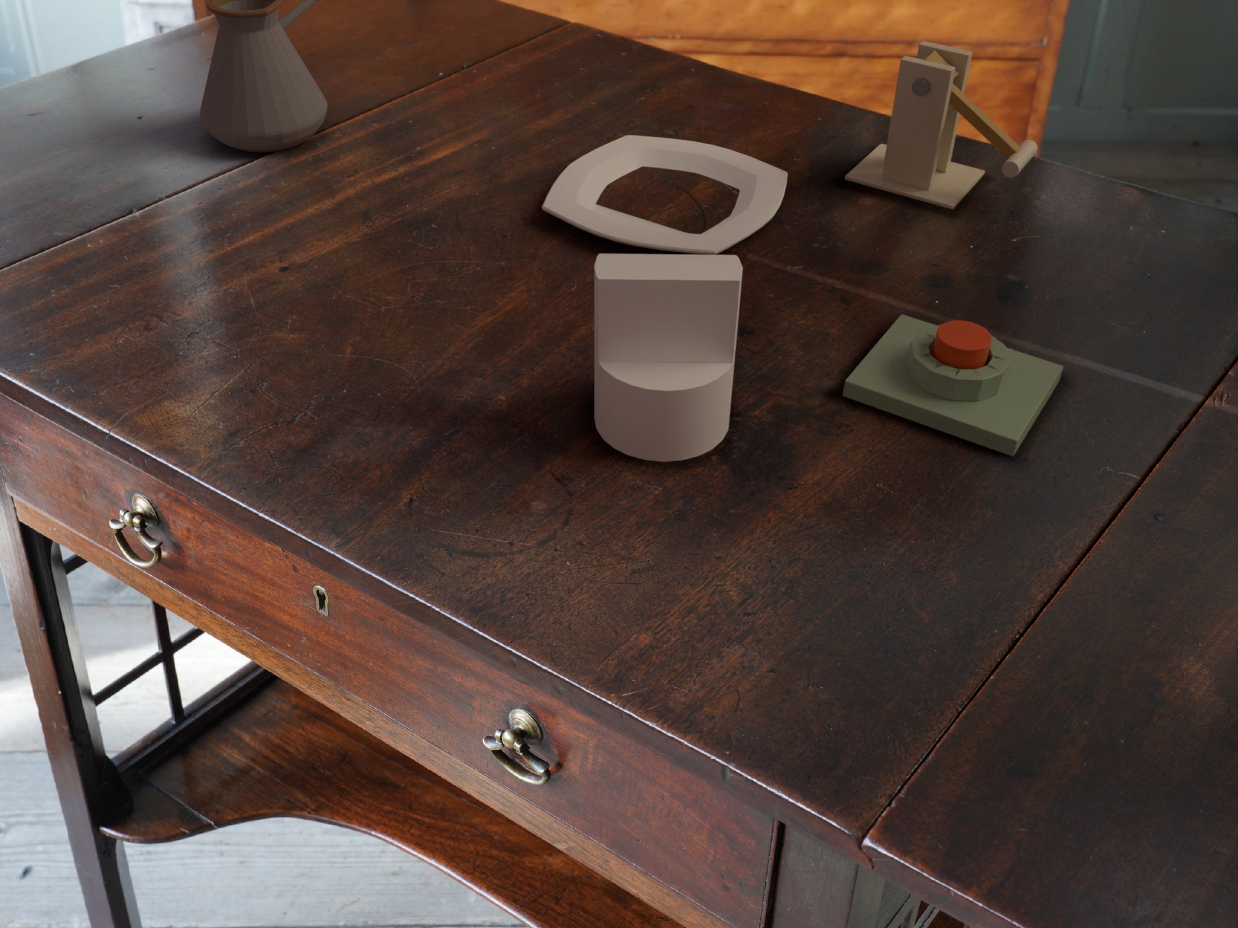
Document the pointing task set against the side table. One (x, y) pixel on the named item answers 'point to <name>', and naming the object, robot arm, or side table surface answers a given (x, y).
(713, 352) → the cylinder with rectangular tab
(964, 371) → the button housing
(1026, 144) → the lever handle
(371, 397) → the side table surface
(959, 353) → the lamp button
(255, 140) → the coffee pot
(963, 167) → the bracket
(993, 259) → the side table surface
